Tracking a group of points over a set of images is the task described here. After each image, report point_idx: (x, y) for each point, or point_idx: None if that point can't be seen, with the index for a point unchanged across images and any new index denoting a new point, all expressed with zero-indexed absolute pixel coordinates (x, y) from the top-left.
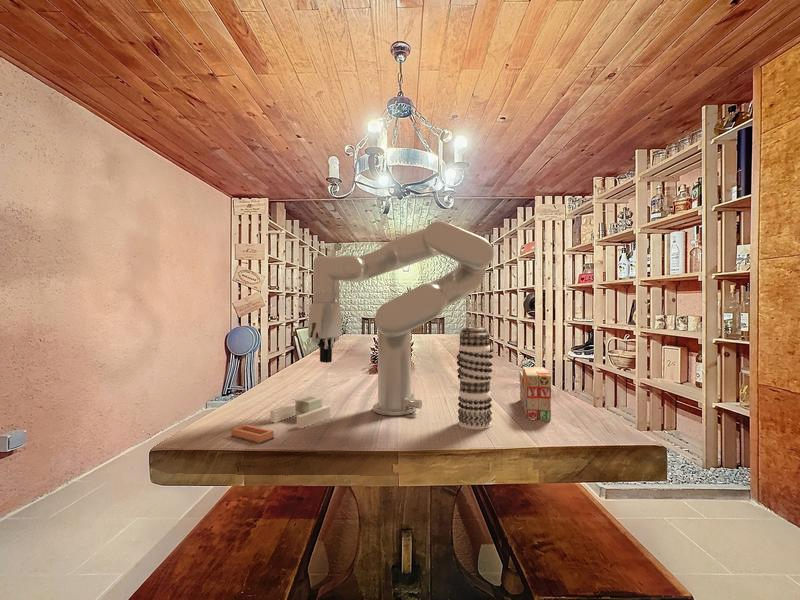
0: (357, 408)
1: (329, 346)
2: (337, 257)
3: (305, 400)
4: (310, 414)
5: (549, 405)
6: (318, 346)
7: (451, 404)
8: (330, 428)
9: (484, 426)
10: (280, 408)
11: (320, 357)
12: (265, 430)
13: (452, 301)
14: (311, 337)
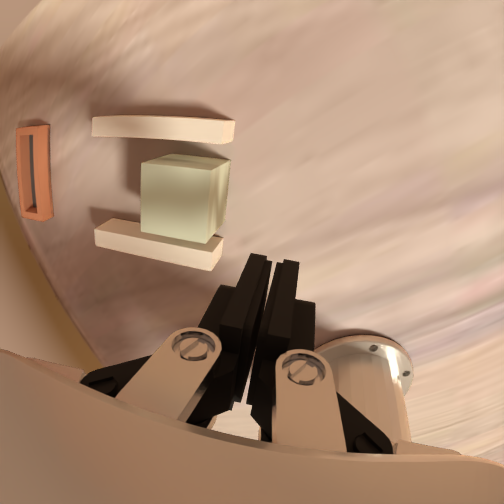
0: (348, 288)
1: (265, 416)
2: None
3: (155, 201)
4: (125, 251)
5: None
6: (166, 343)
7: (415, 440)
8: (150, 295)
9: None
10: (120, 124)
11: (218, 289)
12: (36, 203)
13: None
14: (11, 364)
